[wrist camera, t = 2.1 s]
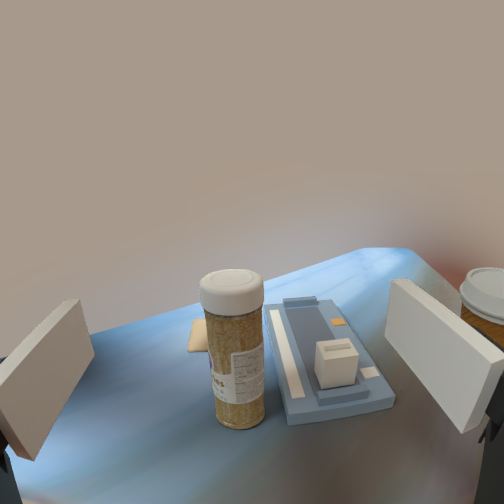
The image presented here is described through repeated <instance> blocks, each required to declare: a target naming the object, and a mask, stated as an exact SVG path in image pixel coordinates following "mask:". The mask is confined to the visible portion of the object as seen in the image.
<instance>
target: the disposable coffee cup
mask: <svg viewBox="0 0 504 504" xmlns="http://www.w3.org/2000/svg"><path fill="white" fill-rule="evenodd" d="M460 294H461V300H462V308H461V317H460V318H461V319H462V320H463V321H465V322H466V323H468V324H470V325H473V326H475V327H477V328H479V329H480V330H482V331H483V332H484V333H485V334H487V336H489V337H490V338H492V339H493V340H494V342H497V343H498V344H499V345H500V346H502V347H503V348H504V269H500V268H478V269H474V270H471V271H469V272H468V274H467V276H466V279H465V281H464V282H463V283H462V284H461V286H460Z"/></svg>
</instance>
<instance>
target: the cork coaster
mask: <svg viewBox="0 0 504 504" xmlns="http://www.w3.org/2000/svg"><path fill="white" fill-rule="evenodd" d="M187 351H188V352H208V338H207V329H206V320H205V319H194V320H193V325H192V330H191V335H190V340H189V344H188V349H187Z"/></svg>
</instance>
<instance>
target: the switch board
mask: <svg viewBox="0 0 504 504" xmlns="http://www.w3.org/2000/svg"><path fill="white" fill-rule="evenodd" d="M316 300H317V299H316V297H315V296H312V297H299V298H286V299H283V304H269V305H264V317H265V321H266V326H267V331H268V335H269V340H270V345H271V349H272V354H273V358H274V363H275V368H276V372H277V377H278V381H279V386H280V391H281V395H282V400H283V404H284V409H285V414H286V418H287V423H288V426H292V425H300V424H308V423H315V422H321V421H328V420H334V419H340V418H345V417H351V416H356V415H361V414H366V413H370V412H375V411H379V410H383V409H388V408H392V407H393V404H394V401H395V397H396V395H395V394H394V392H393V391H392V389H391V388H390V386H389V384H388V383H387V381H386V380H385V378H384V377H383V375H382V374H381V372H380V371H379V369H378V368H377V366H376V365H375V363H374V362H373V360H372V359H371V357H370V356H369V354H368V353H367V351H366V350H365V348H364V347H363V345H362V344H361V342H360V341H359V339H358V338H357V336H356V335H355V333H354V332H353V330H352V329H351V327H350V326H349V324H348V323H347V322H346V320H345V319H344V317H343V316H342V314H341V313H340V311H339V310H338V308H337V307H336V306H335V304H334V303H333V301H332V300H321V301H316ZM344 338H349V339H350V341H351V343H352V344H353V346H354V347H355V349H356V351H357V352H358V354H359V359H358V365H357V371H356V377H355V383H354V384H352V385H346V386H339V387H333V388H326V389H321V387H320V384H319V381H318V379H317V376H316V374H315V371H314V367H315V354H316V342H319V341H328V340H336V339H344Z"/></svg>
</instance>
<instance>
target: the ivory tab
mask: <svg viewBox="0 0 504 504" xmlns="http://www.w3.org/2000/svg"><path fill="white" fill-rule="evenodd" d="M358 359H359V354H358V352H357V351H356V349H355V347H354V346H353V344H352V343H351V341H350V339H349V338H344V339H336V340H328V341H319V342H316V354H315V367H314V371H315V374H316V376H317V379H318V381H319V384H320V387H321V389H326V388H333V387H339V386H346V385H352V384H354V383H355V377H356V371H357V365H358Z"/></svg>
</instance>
